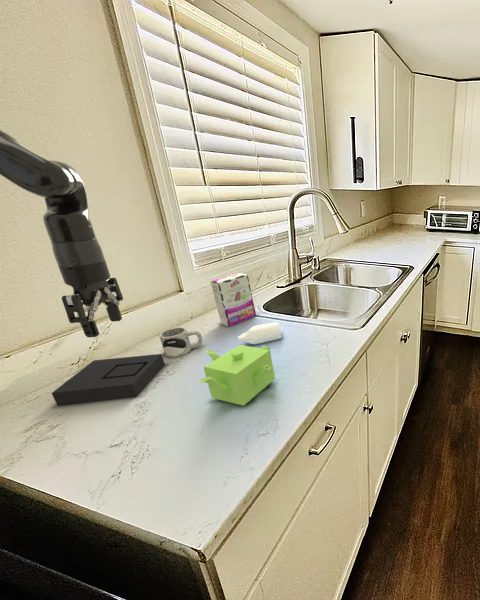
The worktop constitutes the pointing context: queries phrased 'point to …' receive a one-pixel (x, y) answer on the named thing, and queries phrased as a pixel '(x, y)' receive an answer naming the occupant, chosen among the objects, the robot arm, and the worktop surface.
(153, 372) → the base pad
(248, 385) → the kettle
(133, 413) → the worktop surface
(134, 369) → the small pad
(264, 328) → the white tapered cylinder
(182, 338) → the mug
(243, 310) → the candy bar box
